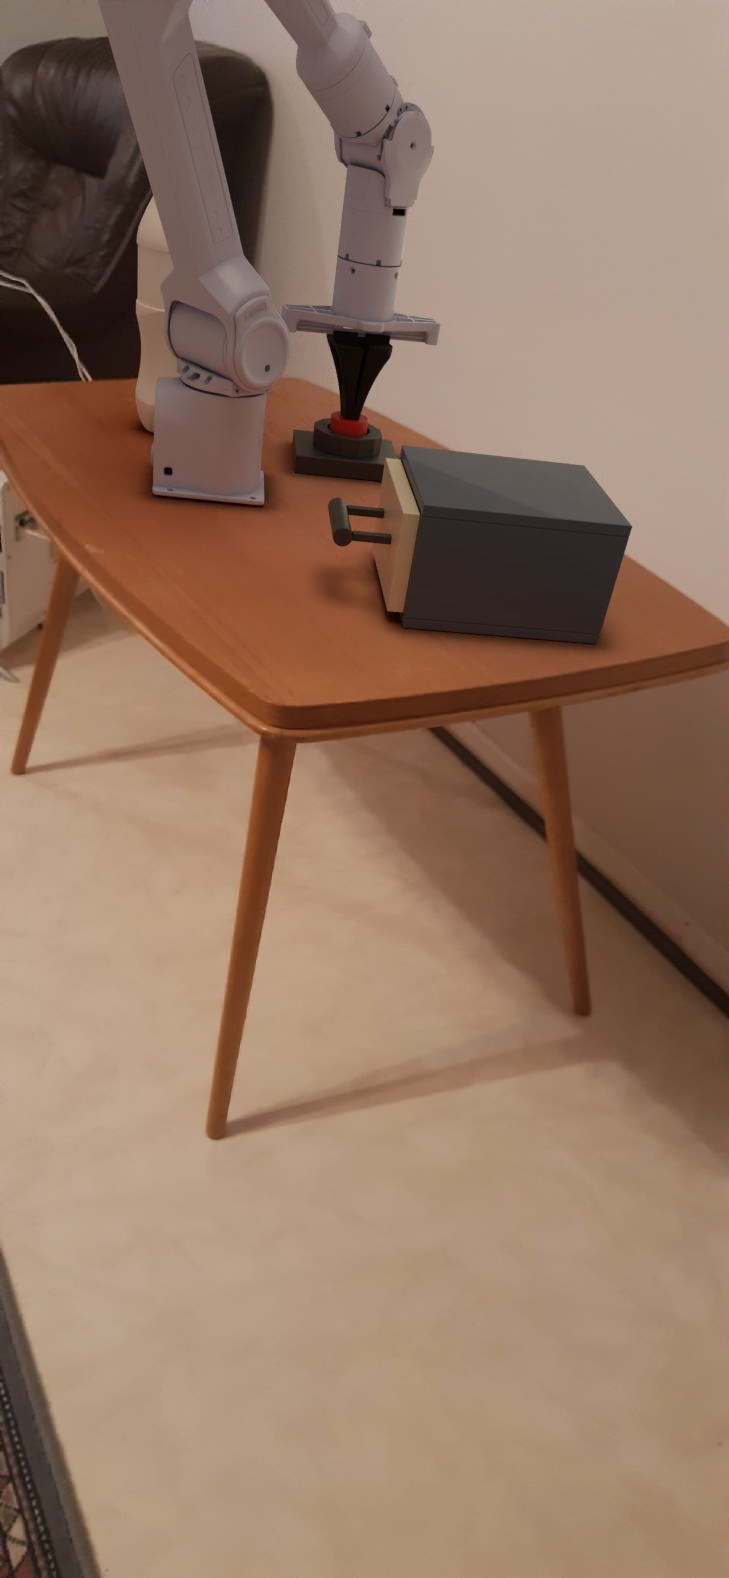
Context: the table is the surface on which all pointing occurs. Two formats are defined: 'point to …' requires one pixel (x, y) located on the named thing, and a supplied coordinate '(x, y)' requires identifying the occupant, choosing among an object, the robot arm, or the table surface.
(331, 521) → the drawer
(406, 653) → the table surface
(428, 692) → the table surface
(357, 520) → the table surface
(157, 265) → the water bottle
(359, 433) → the button
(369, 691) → the table surface
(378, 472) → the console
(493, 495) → the cabinet
